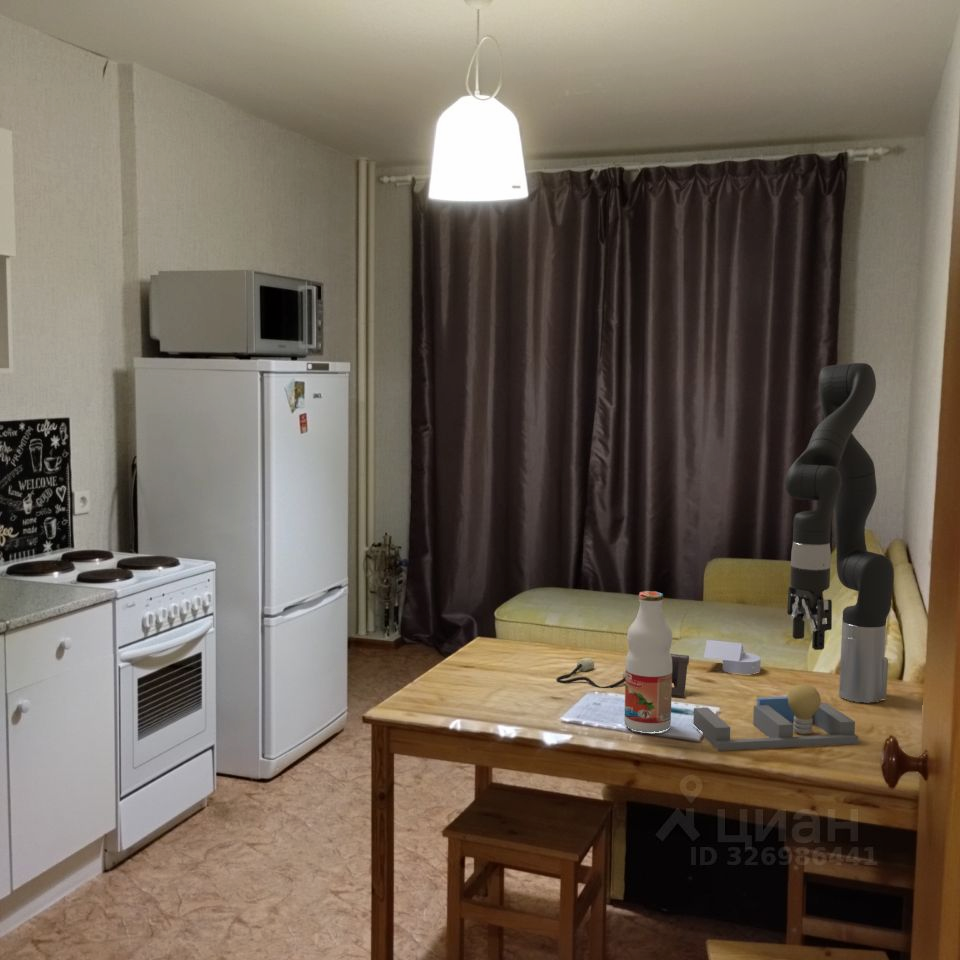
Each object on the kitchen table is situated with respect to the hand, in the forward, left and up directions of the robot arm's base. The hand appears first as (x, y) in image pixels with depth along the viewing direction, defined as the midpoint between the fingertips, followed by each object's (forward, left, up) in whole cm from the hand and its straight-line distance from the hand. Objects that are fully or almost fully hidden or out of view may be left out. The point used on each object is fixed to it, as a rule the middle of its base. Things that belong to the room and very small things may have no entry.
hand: (807, 643), depth 211 cm
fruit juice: (+31, -7, -19) cm, 37 cm away
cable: (+32, -41, -19) cm, 55 cm away
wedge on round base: (-3, -45, -19) cm, 49 cm away
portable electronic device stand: (+19, -30, -19) cm, 40 cm away
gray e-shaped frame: (+7, 0, -19) cm, 20 cm away
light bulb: (0, 0, -19) cm, 19 cm away
